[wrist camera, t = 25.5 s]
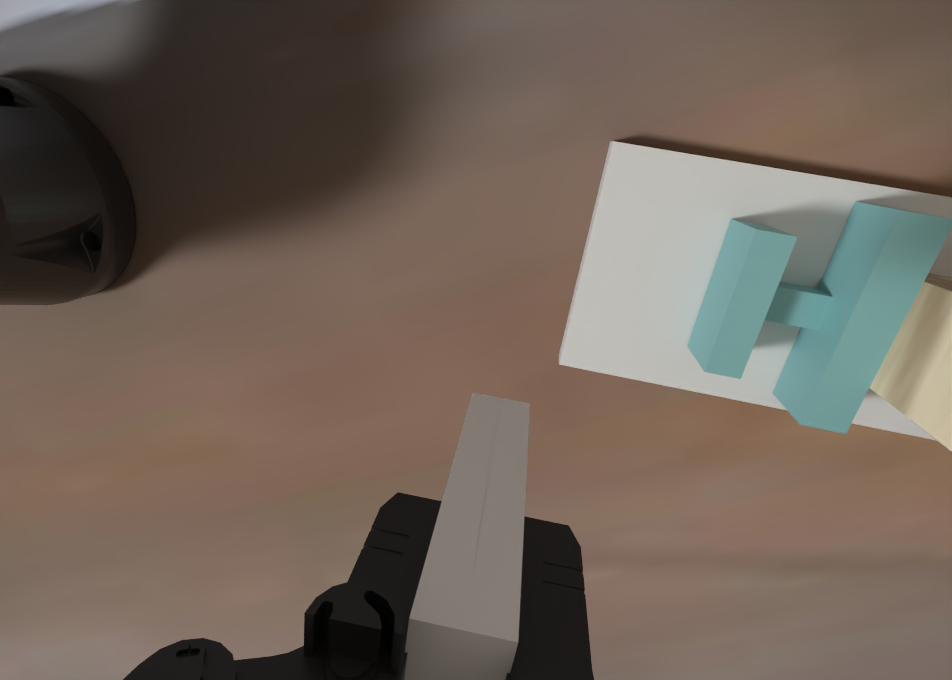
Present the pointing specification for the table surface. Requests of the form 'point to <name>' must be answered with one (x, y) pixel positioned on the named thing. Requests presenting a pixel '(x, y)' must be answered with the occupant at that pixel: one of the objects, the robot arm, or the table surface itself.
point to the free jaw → (818, 307)
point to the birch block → (923, 362)
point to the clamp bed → (708, 266)
